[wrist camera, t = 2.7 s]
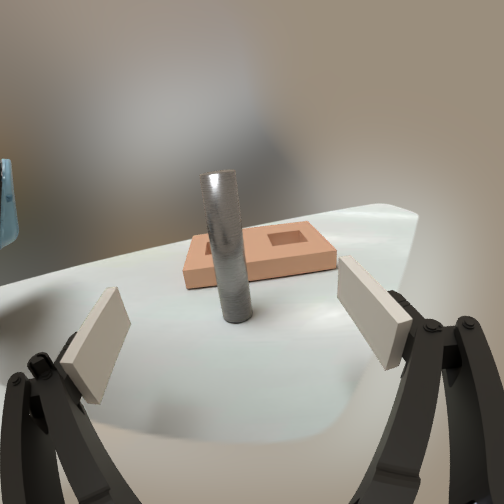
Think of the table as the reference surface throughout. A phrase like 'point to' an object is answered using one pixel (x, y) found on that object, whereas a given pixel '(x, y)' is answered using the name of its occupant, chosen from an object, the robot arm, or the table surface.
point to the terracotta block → (265, 254)
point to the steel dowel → (227, 243)
